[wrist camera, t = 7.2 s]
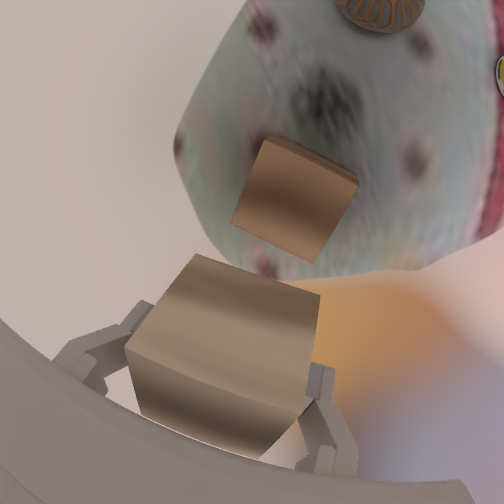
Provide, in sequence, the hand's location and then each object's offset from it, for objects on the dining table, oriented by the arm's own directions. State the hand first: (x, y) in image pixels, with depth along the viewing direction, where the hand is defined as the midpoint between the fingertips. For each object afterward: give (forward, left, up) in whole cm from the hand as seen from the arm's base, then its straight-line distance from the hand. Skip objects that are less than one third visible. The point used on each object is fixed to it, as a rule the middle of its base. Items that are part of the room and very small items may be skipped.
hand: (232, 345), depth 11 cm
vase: (-19, +2, -19) cm, 27 cm away
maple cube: (0, 0, -2) cm, 2 cm away
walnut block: (0, 0, -19) cm, 19 cm away
